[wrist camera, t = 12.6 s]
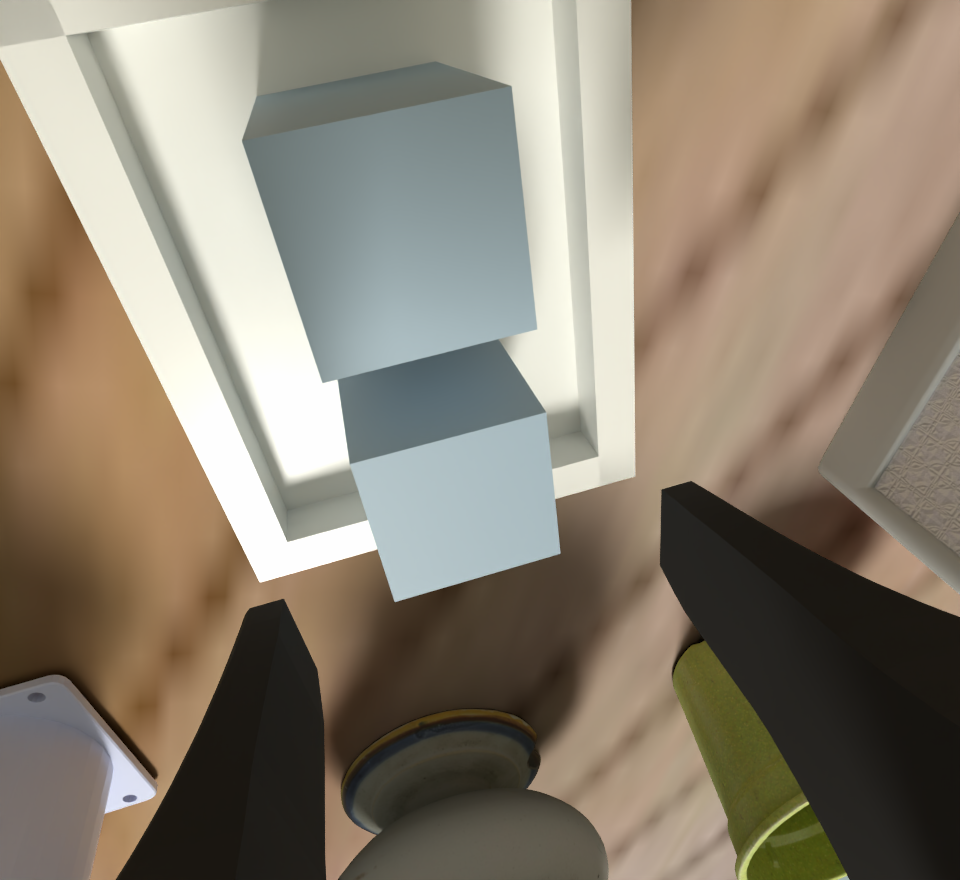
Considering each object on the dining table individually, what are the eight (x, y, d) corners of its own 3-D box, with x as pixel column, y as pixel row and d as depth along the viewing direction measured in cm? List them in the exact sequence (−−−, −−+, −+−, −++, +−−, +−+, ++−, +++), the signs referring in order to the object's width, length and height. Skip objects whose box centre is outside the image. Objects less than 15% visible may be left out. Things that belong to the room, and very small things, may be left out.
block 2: (367, 456, 20) (394, 602, 15) (331, 337, 17) (349, 464, 13) (493, 423, 20) (560, 553, 15) (474, 303, 18) (546, 412, 13)
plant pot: (663, 601, 29) (785, 792, 22) (840, 575, 31) (1002, 740, 24) (623, 729, 34) (711, 918, 27) (778, 699, 36) (897, 865, 29)
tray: (262, 528, 21) (259, 582, 19) (5, -29, 13) (-47, -36, 11) (604, 435, 23) (635, 476, 21) (580, -122, 14) (630, -144, 12)
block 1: (311, 272, 16) (322, 383, 11) (256, 96, 14) (242, 141, 9) (464, 237, 17) (537, 329, 12) (435, 61, 15) (511, 85, 10)
